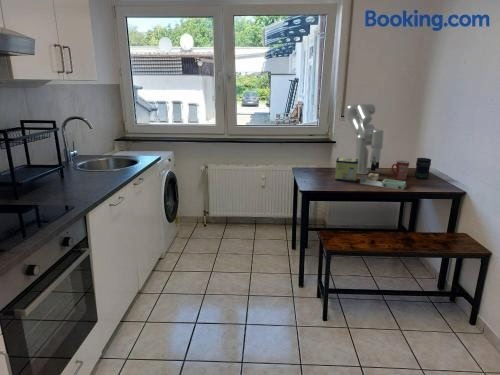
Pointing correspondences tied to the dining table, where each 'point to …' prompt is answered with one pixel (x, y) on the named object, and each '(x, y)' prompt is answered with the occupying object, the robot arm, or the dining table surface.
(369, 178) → the beige square block
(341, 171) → the protein box
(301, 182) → the dining table surface
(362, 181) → the track
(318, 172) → the dining table surface
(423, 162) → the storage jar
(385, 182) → the cart
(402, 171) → the mug
